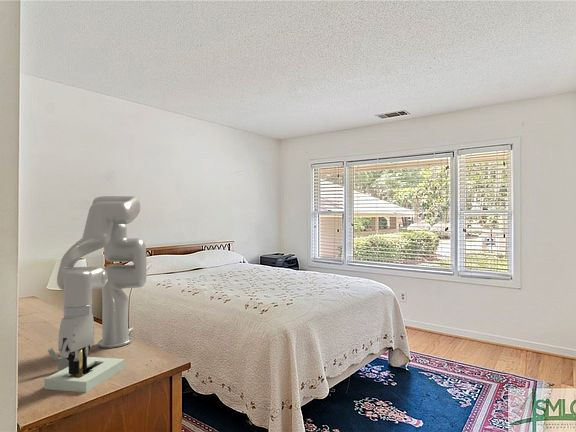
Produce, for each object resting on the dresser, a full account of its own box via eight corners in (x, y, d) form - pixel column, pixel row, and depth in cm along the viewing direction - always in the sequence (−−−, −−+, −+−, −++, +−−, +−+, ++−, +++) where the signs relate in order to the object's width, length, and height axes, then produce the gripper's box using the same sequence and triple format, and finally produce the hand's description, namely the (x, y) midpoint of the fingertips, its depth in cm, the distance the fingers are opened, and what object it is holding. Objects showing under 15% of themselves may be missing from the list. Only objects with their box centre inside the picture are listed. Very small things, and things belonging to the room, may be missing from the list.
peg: (77, 378, 114) (77, 344, 114) (89, 379, 113) (89, 345, 113) (66, 384, 109) (66, 349, 110) (79, 385, 109) (79, 350, 109)
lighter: (72, 367, 124) (72, 343, 124) (73, 369, 122) (73, 344, 123) (47, 372, 120) (47, 348, 120) (47, 374, 118) (48, 349, 118)
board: (88, 365, 125) (88, 356, 125) (125, 368, 123) (125, 359, 123) (44, 389, 108) (44, 378, 108) (86, 392, 105) (86, 381, 105)
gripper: (86, 304, 120) (86, 361, 120) (45, 317, 104) (45, 382, 104) (106, 305, 119) (106, 362, 119) (68, 318, 103) (68, 383, 103)
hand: (77, 371), depth 111 cm, fingers closed on peg, 2 cm apart
